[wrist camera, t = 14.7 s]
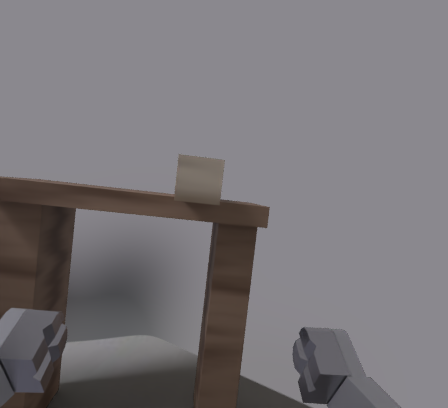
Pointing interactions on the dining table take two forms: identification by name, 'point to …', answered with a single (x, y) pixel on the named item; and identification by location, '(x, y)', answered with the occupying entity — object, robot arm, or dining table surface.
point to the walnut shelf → (140, 205)
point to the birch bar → (199, 180)
